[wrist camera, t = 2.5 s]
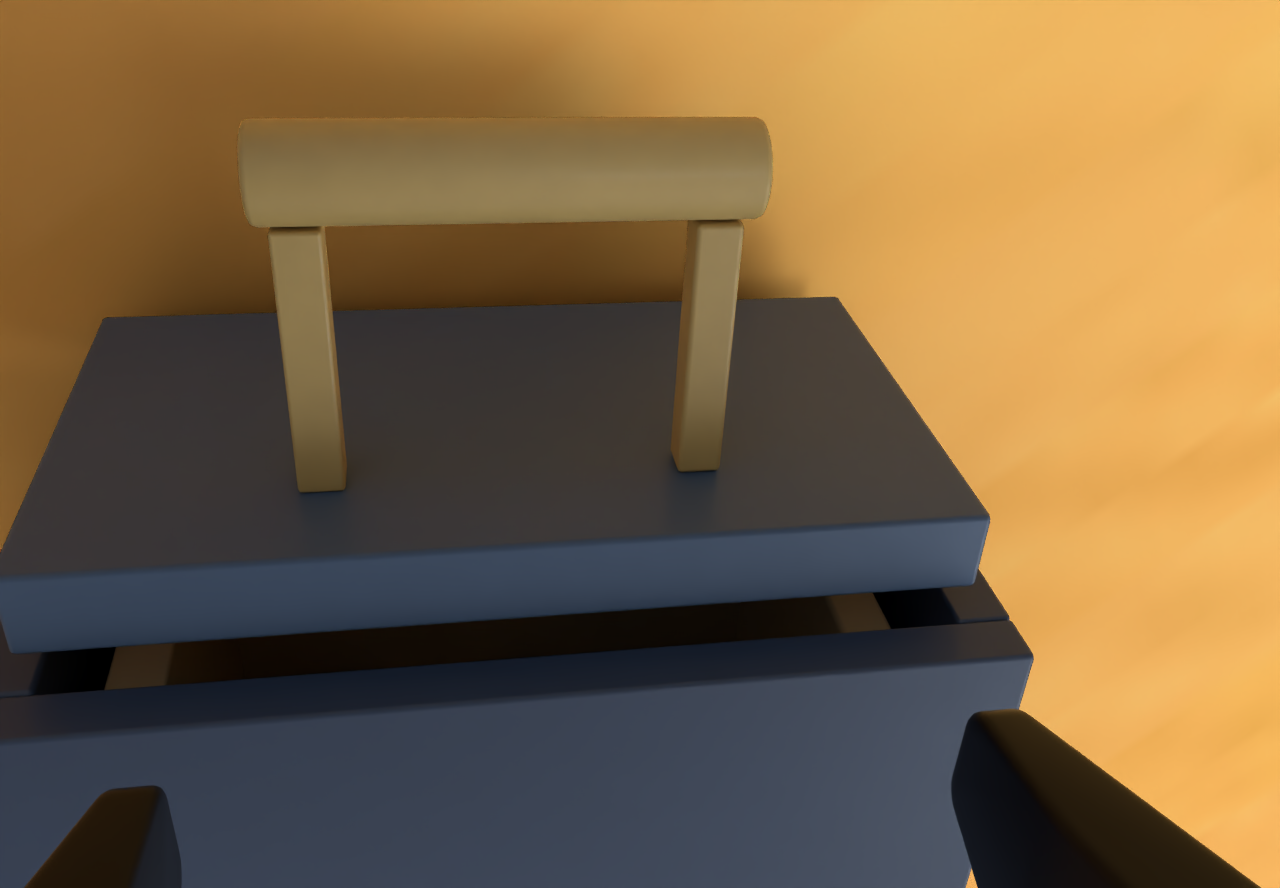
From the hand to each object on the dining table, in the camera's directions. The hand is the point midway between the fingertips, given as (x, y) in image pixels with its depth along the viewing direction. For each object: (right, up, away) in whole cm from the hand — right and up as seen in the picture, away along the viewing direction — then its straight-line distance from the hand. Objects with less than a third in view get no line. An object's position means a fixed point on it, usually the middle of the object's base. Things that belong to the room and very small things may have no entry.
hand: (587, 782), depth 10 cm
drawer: (-2, +1, +13) cm, 14 cm away
